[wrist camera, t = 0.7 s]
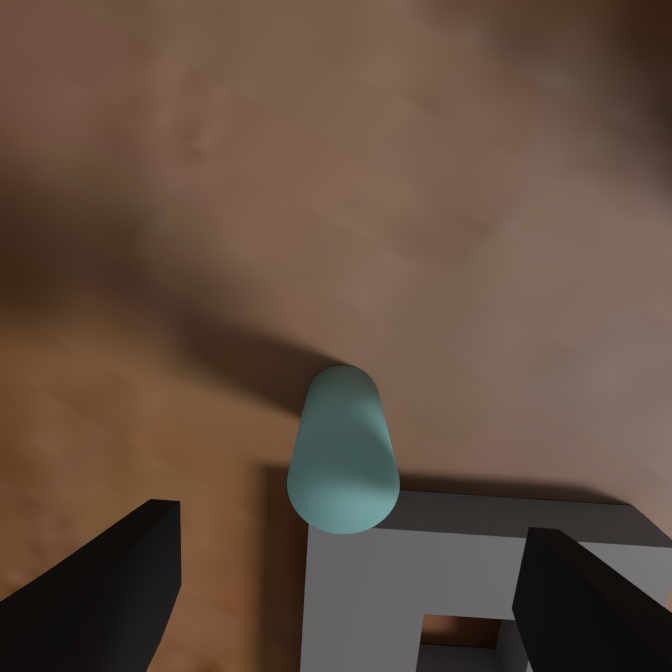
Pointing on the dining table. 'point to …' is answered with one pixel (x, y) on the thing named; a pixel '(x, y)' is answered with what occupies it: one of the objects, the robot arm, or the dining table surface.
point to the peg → (343, 455)
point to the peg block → (452, 577)
